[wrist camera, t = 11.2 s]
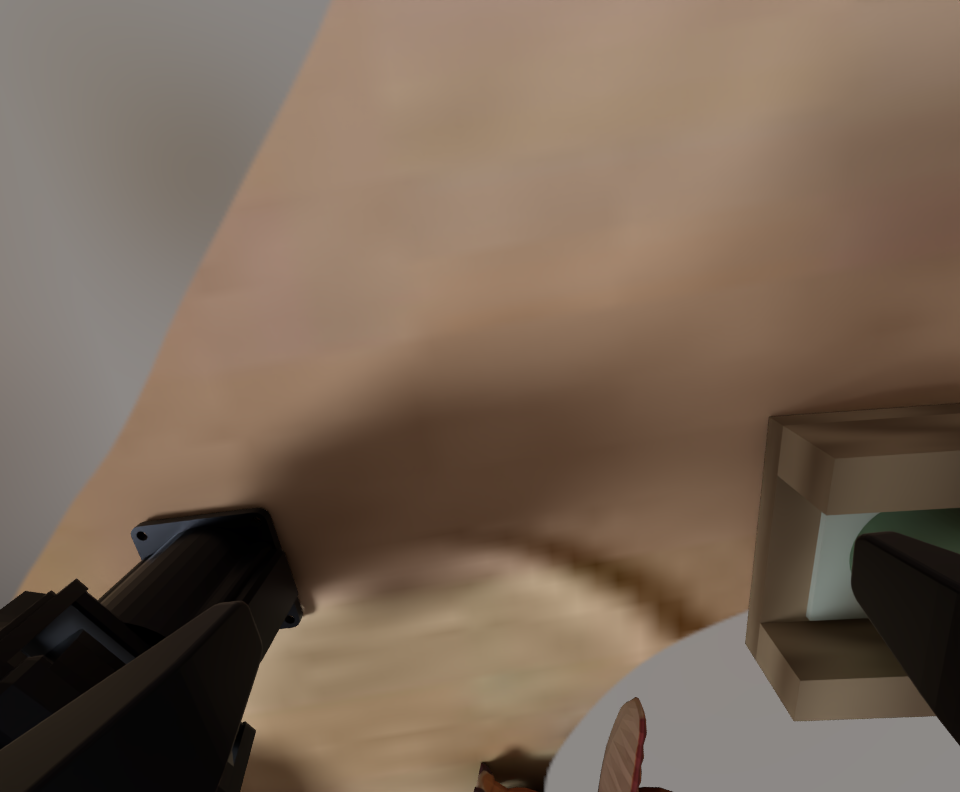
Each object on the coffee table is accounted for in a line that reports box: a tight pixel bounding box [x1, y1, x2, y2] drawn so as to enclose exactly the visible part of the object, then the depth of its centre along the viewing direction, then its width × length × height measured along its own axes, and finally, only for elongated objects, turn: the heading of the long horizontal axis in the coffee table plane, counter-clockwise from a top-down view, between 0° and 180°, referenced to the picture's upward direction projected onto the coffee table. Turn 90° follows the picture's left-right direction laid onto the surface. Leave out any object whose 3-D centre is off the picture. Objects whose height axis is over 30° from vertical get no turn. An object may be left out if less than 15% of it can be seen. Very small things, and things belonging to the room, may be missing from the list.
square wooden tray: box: [745, 403, 960, 721], centre depth 19 cm, size 12×12×4 cm
